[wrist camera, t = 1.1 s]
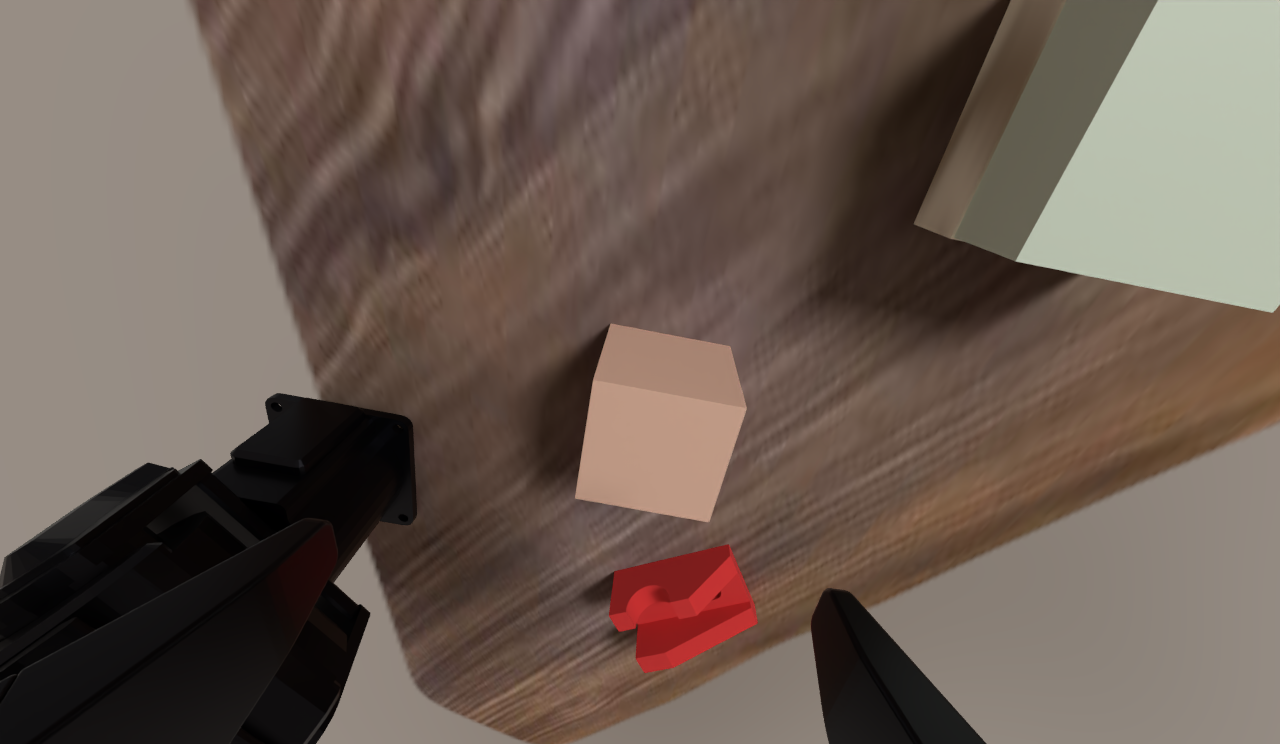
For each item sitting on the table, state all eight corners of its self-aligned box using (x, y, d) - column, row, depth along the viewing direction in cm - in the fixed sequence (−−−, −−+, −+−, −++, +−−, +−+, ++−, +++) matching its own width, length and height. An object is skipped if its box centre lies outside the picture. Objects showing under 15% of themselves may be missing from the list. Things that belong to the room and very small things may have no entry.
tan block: (701, 442, 22) (709, 522, 18) (594, 423, 22) (575, 498, 18) (729, 345, 20) (746, 408, 15) (610, 323, 20) (593, 379, 15)
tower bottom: (1089, 259, 18) (1162, 282, 15) (907, 222, 18) (949, 238, 15) (1227, 35, 15) (1351, 14, 12) (1008, -14, 14) (1085, -47, 12)
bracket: (647, 621, 28) (644, 672, 26) (615, 566, 26) (608, 615, 24) (753, 599, 27) (762, 651, 24) (727, 539, 25) (734, 588, 22)
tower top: (1166, 280, 15) (1272, 312, 13) (953, 237, 15) (1015, 261, 12) (1356, 10, 12) (1553, -23, 9) (1089, -49, 12) (1212, -100, 9)
